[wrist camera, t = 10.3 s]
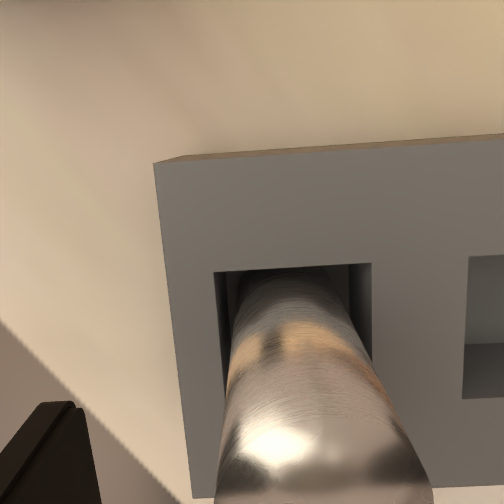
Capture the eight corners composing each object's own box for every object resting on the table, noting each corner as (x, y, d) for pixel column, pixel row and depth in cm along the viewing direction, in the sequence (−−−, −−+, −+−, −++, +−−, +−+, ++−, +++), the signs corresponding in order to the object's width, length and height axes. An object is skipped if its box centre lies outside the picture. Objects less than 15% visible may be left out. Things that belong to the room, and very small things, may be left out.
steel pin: (232, 256, 19) (200, 427, 8) (331, 247, 18) (434, 409, 8) (242, 346, 20) (225, 604, 9) (336, 338, 19) (433, 592, 9)
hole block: (182, 155, 19) (153, 163, 14) (575, 128, 19) (702, 125, 13) (208, 411, 22) (192, 498, 17) (549, 393, 22) (644, 478, 16)
